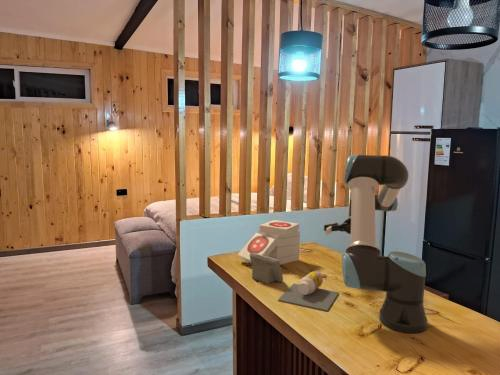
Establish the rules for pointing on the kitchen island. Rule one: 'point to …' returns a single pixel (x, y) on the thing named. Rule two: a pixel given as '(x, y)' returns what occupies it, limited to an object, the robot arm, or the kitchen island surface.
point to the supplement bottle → (310, 283)
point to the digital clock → (265, 268)
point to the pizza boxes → (274, 242)
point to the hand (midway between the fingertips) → (342, 233)
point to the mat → (310, 298)
